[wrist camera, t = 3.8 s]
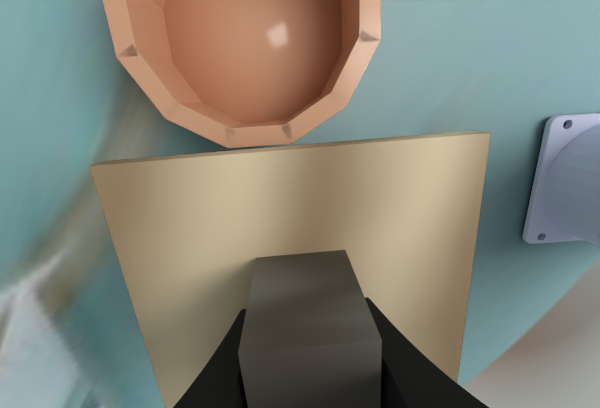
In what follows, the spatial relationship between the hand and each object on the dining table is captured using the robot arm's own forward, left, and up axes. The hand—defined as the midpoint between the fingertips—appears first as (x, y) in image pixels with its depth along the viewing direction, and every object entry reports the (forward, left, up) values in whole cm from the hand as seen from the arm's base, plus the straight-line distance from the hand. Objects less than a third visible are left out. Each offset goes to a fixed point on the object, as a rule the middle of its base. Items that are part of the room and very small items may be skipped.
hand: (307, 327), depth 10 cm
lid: (0, 0, -2) cm, 2 cm away
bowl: (+1, -11, -9) cm, 14 cm away
